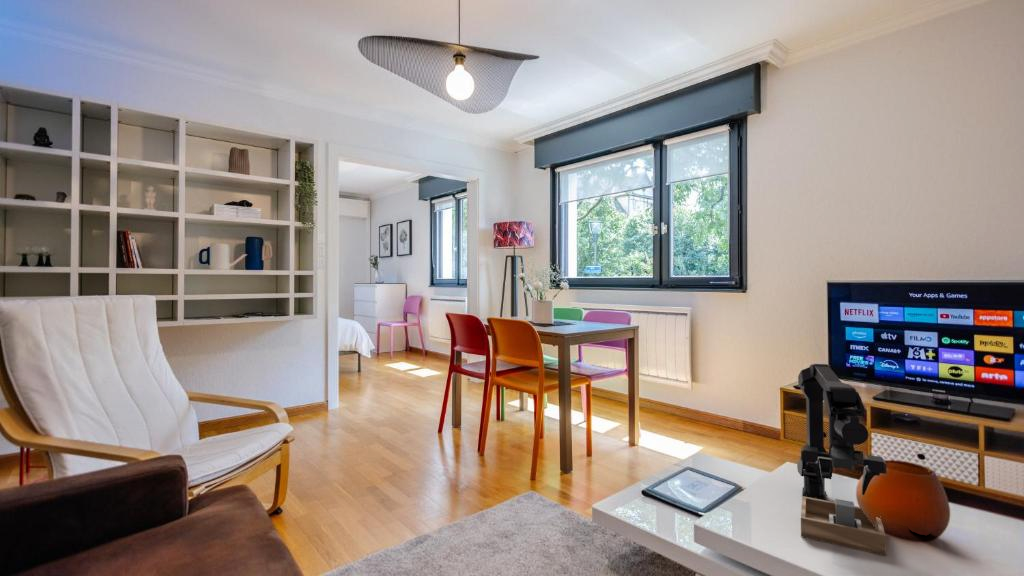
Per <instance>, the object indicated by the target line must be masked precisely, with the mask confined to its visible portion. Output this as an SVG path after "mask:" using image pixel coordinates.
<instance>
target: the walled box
mask: <svg viewBox="0 0 1024 576" xmlns="http://www.w3.org/2000/svg"><path fill="white" fill-rule="evenodd" d="M854 507H855V528H854V527H849V526H844V525H840V524H836V506H835V501H829V500H824V499H819V498H813V497H808V496H803V495H802V496H801V508H800V509H801V510H800V537H801V538H805V539H809V540H813V541H819V542H822V543H829V544H833V545H836V546H839V547H840V546H841V547H845V548H849V549H853V550H859V551H862V552H867V553H871V554H876V555H879V556H880V555H881V556H885V557H886V556H887V539H886V537H887V536H886V532H885V528H884V525H883V522H882V519H880V518H881V517H880V518H878V517H876V521H875V526H873V524H872V523H871V522H870V521H869V520H868V518H867V517H866V515H865V514H864V513H863V511H862V509H861V508H860V507H861V506H856V505H854Z"/></svg>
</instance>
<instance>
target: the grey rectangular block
mask: <svg viewBox="0 0 1024 576" xmlns="http://www.w3.org/2000/svg"><path fill="white" fill-rule="evenodd" d="M834 500H835V501H834V502H835V506H836V524H840V525H844V526H849V527H854V528H855V507H854V506H855V503H854V501H851V500H846V499H845V500H843V499H839V498H835V499H834Z"/></svg>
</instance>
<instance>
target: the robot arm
mask: <svg viewBox="0 0 1024 576" xmlns="http://www.w3.org/2000/svg"><path fill="white" fill-rule="evenodd" d="M797 376H798V377H797V382H798V386H799V389H800V391H801V392H802V394H803V395H804V397H805V401H806V402H805V404H806V405H805V407H806V409H805V410H806V444H805V445H802V446H801V448H800V456H799V459H798V462H797V464H796V466H797V472H798V474H799V475H800V477H803V487H802V492H801V493H802V494H801V495H802V496H804V497H809V498H814V499H820V500H825V501H828V500H827V491H826V488H825V485H826V482H825V481H826V480H825V479H827V480H828V479H829V480H832V477H833V469H834V468H835V469H846V470H848V471H853V470H855V466H858V467H860V466H862V467H863V475H862V481H861V482H862V483H861V495H862V496H865V494H866V492H867V489H868V487H869V484H870V483H871V481H872V479H873V478H874V477H876V476H878V477H879V476H880V475H881V474H884V475H886V474H887V463H886V461H885V458H883V457H882V456H878V455H871V454H865V457H864V452H863V451H862V450H855V445H857V446H858V445H861V444H864V443H866V441H868V438H869V435H870V434H869V431H868V429H867V427H866V426H865V425H864V424H863V423H861V422H860V417H865V411H866V408H865V405H864V403H863V400H862V397H861V396H860V393H859V391H857V390H856V388H855V387H854V386H852V385H851V384H848V383H844V382H842V381H841V380H840V378H839V377H838V376H837V374H835V372H834V371H833V370H832V366H831V365H830V364H827V363H812V364H810V365H809V366H808V367H806V368H804V369H802V370H800V372H799V373H798V375H797ZM824 405H825V408H826V411H827V413H828V451H827V449H826V448H825V445H824V444H825V443H824V442H825V441H824V439H825V438H824V436H825V435H824V431H825V430H824Z"/></svg>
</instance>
